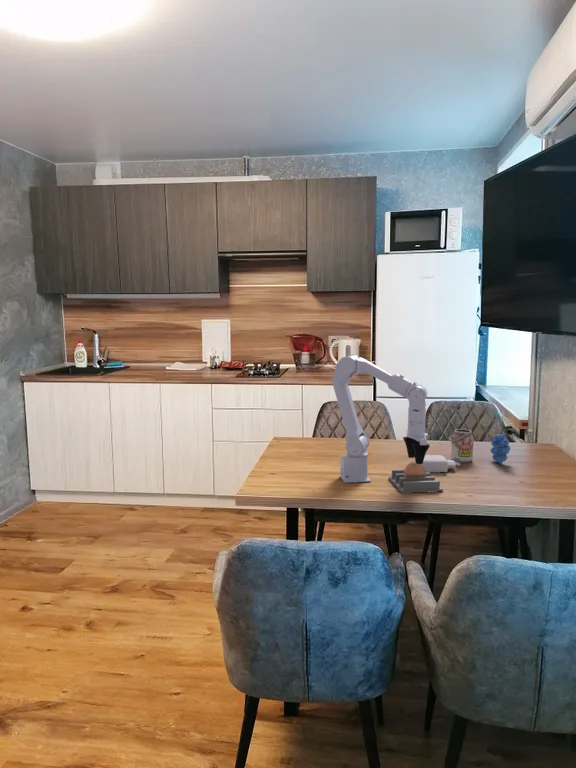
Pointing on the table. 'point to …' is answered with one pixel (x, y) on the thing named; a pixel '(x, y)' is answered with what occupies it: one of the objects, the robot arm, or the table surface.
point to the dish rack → (414, 482)
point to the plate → (414, 470)
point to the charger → (438, 463)
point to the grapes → (500, 448)
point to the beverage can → (462, 445)
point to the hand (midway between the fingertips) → (415, 460)
